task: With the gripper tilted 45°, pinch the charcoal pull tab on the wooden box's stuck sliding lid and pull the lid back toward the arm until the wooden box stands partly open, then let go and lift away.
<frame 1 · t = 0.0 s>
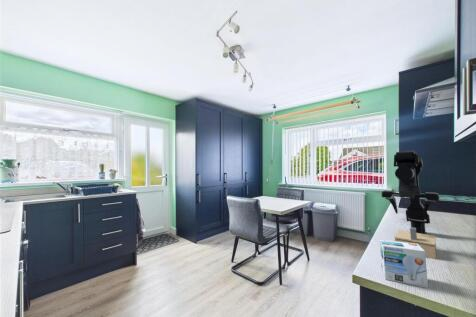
hand: (410, 214, 85), 15 cm above the worktop, tool pointing down, fingers open, 9 cm apart
wooden box: (416, 250, 83), on the worktop
sliding lid: (414, 231, 84), point 8 cm above the worktop, slide at 0.0 cm
light bulb box: (403, 279, 62), on the worktop
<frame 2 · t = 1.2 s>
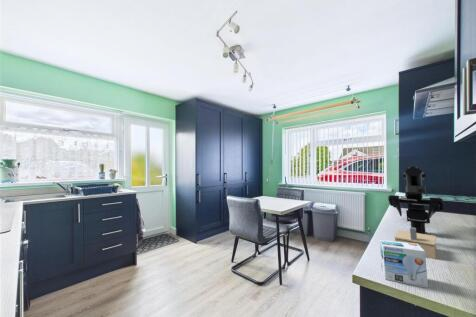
hand: (414, 217, 86), 13 cm above the worktop, tool tilted 45°, fingers open, 9 cm apart
nothing on the worktop moved.
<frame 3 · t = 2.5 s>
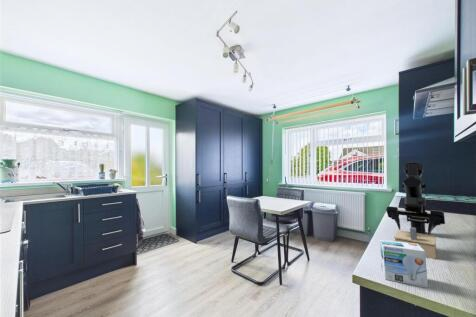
hand: (413, 231, 81), 9 cm above the worktop, tool tilted 45°, fingers open, 9 cm apart
nothing on the worktop moved.
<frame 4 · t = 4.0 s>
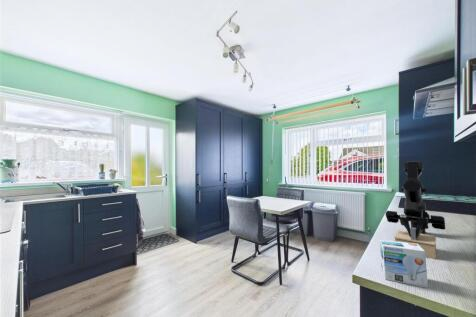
hand: (413, 236, 79), 7 cm above the worktop, tool tilted 45°, fingers closed on sliding lid, 2 cm apart
sliding lid: (414, 231, 84), point 8 cm above the worktop, slide at 0.0 cm, touching gripper
everything else where it was.
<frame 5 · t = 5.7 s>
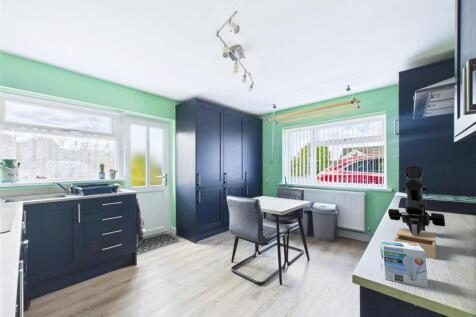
hand: (414, 233, 84), 7 cm above the worktop, tool tilted 45°, fingers closed on sliding lid, 2 cm apart
sliding lid: (415, 228, 88), point 8 cm above the worktop, slide at 5.9 cm, touching gripper
everything else where it was.
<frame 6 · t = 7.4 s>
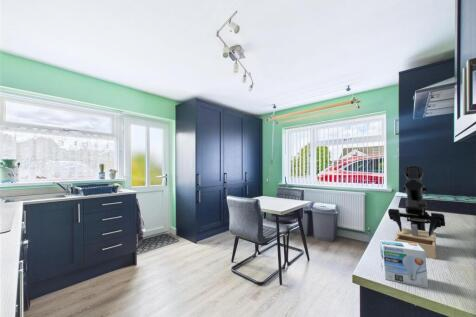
hand: (414, 233, 84), 7 cm above the worktop, tool tilted 45°, fingers open, 9 cm apart
sliding lid: (415, 228, 88), point 8 cm above the worktop, slide at 6.0 cm
everything else where it was.
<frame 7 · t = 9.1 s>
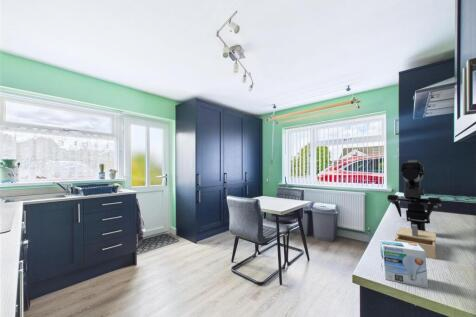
hand: (413, 218, 90), 12 cm above the worktop, tool tilted 20°, fingers open, 9 cm apart
nothing on the worktop moved.
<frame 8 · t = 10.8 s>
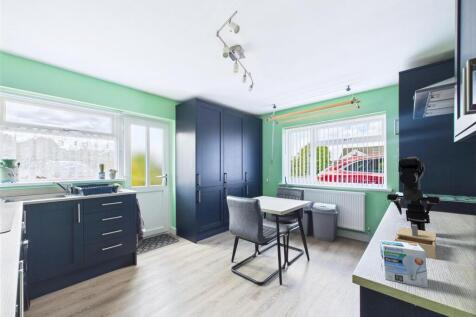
hand: (413, 216, 94), 12 cm above the worktop, tool pointing down, fingers open, 9 cm apart
nothing on the worktop moved.
at the end: sliding lid slide at 6.0 cm; the gripper is holding nothing; light bulb box moved 0.3 cm from its start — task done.
